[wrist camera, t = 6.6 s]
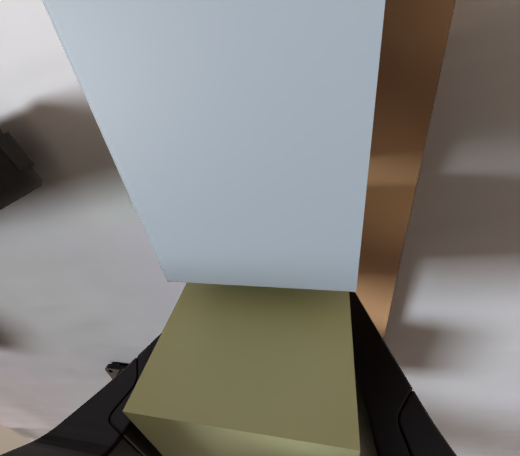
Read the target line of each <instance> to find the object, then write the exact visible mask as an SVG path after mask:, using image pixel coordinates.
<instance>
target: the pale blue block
mask: <svg viewBox="0 0 520 456" xmlns="http://www.w3.org/2000/svg"><path fill="white" fill-rule="evenodd" d="M42 1H43V3H44V6H45V8H46V10H47V12H48V14H49V17H50V19H51V21H52V23H53V26H54V28H55V30H56V32H57V35H58V37H59V39H60V41H61V44H62V46H63V48H64V50H65V53H66V55H67V57H68V59H69V62H70V64H71V66H72V68H73V71H74V73H75V75H76V77H77V80H78V82H79V84H80V86H81V89H82V91H83V93H84V95H85V98H86V100H87V102H88V104H89V107H90V109H91V111H92V113H93V116H94V118H95V120H96V122H97V124H98V127H99V129H100V131H101V133H102V136H103V138H104V140H105V142H106V145H107V147H108V149H109V151H110V154H111V156H112V158H113V160H114V163H115V165H116V167H117V169H118V172H119V174H120V176H121V178H122V181H123V183H124V185H125V187H126V190H127V192H128V194H129V196H130V199H131V201H132V203H133V205H134V208H135V210H136V212H137V214H138V217H139V219H140V221H141V223H142V226H143V228H144V230H145V232H146V234H147V237H148V239H149V241H150V243H151V246H152V248H153V250H154V252H155V255H156V257H157V259H158V261H159V264H160V266H161V268H162V270H163V273H164V275H165V277H166V279H167V281H169V282H187V283H205V284H223V285H241V286H259V287H277V288H295V289H313V290H332V291H350V292H356V288H357V278H358V269H359V259H360V249H361V239H362V229H363V219H364V209H365V199H366V189H367V179H368V169H369V159H370V149H371V139H372V129H373V119H374V109H375V99H376V89H377V79H378V70H379V60H380V50H381V40H382V30H383V20H384V10H385V0H42Z"/></svg>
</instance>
